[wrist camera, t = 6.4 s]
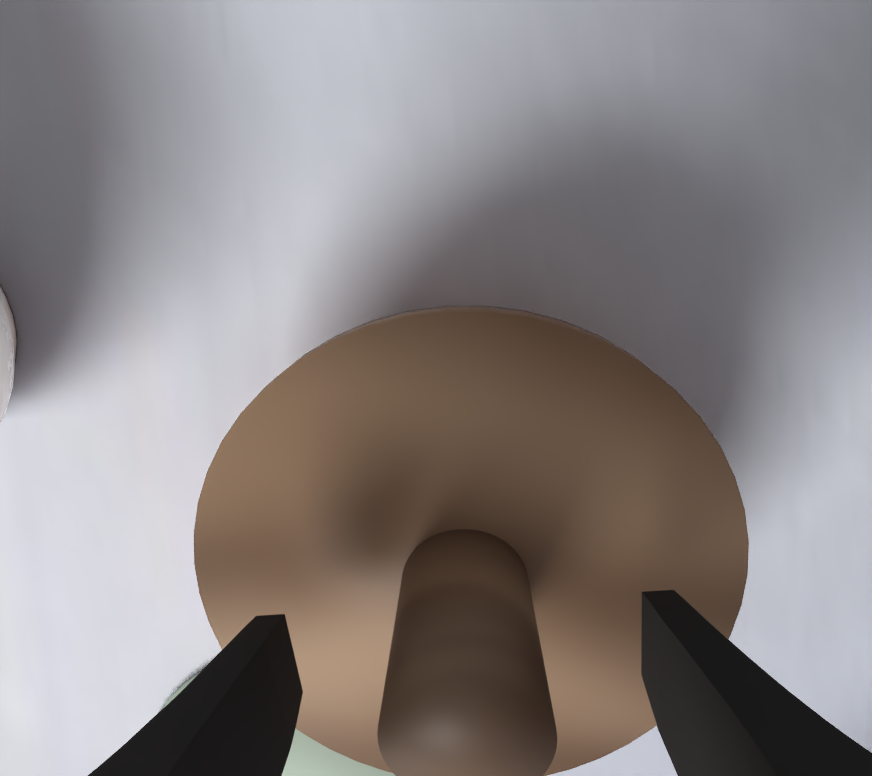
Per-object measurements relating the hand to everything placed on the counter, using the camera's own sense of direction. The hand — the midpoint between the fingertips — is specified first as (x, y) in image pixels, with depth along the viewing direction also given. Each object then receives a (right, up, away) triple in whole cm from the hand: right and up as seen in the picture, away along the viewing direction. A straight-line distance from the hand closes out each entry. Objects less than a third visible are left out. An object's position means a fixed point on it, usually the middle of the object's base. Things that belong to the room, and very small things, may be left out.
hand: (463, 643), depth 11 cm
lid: (0, +1, +3) cm, 3 cm away
